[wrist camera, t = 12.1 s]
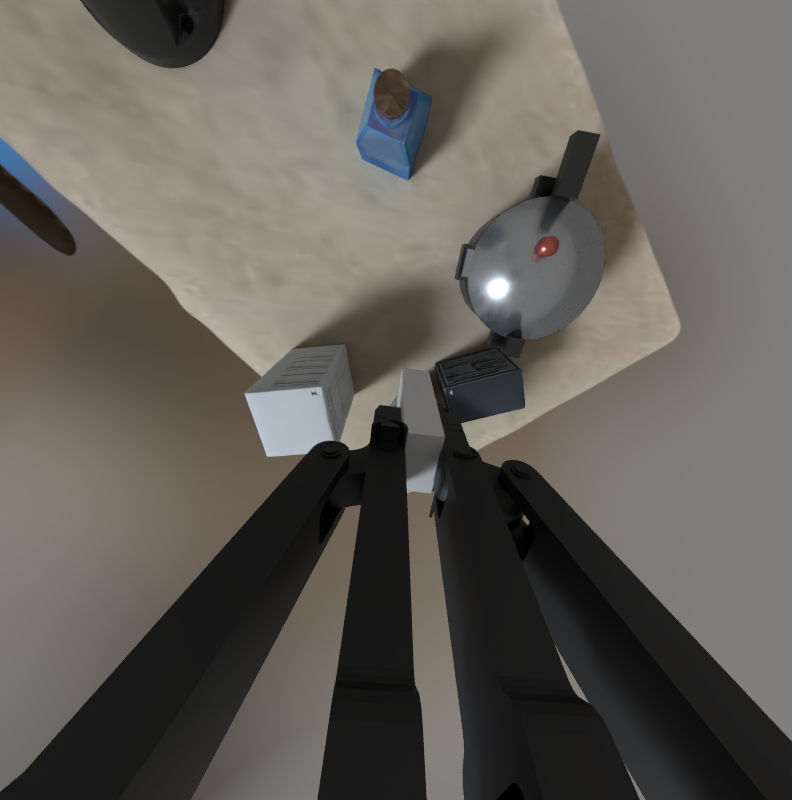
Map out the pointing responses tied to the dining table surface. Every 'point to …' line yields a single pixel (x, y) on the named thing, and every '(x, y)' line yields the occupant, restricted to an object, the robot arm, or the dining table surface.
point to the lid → (539, 258)
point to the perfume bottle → (392, 122)
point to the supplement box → (302, 400)
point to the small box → (480, 384)
